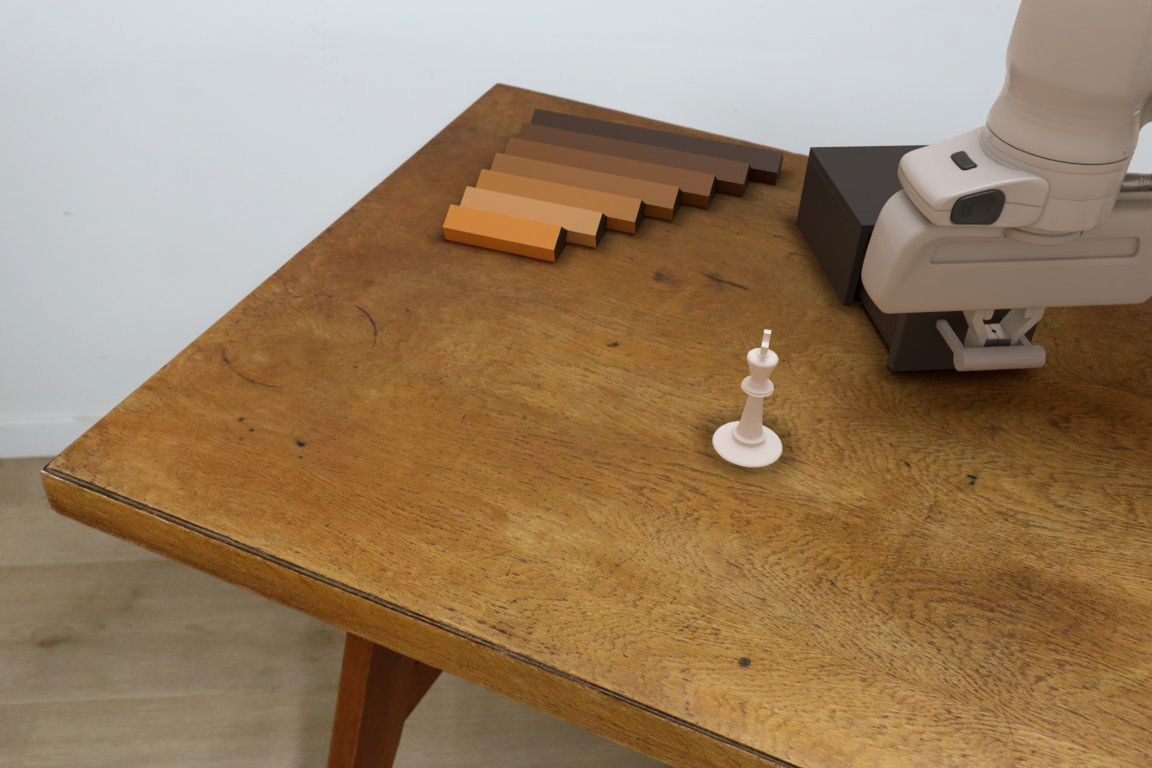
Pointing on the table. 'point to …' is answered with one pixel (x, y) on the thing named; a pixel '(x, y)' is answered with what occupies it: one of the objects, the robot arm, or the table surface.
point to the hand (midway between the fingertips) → (987, 351)
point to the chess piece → (752, 416)
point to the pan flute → (595, 183)
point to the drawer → (945, 340)
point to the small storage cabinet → (846, 207)
